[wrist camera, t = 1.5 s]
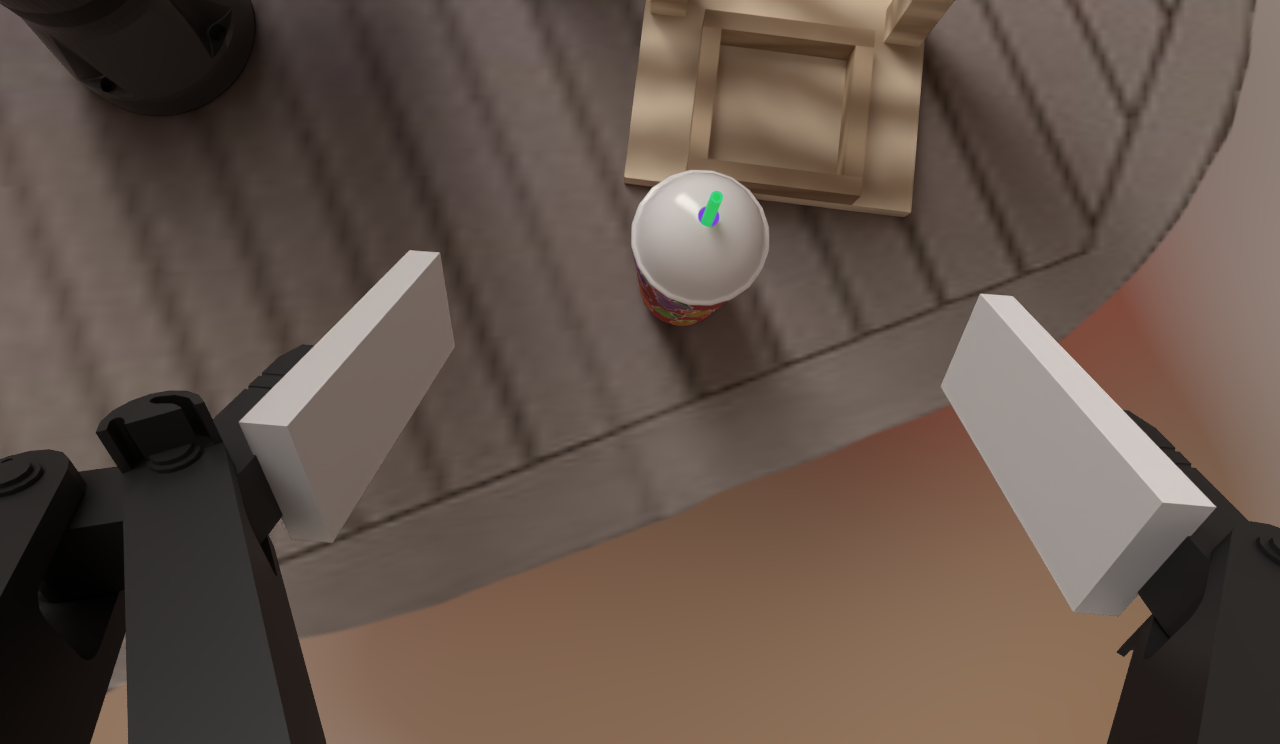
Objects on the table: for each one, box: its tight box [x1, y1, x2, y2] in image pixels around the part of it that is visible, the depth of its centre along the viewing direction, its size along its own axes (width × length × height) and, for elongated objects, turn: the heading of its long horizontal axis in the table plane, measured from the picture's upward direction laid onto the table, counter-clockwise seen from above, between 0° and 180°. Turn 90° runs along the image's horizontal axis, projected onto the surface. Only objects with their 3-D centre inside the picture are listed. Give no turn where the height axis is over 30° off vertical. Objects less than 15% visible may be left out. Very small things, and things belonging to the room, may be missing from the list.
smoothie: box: [631, 170, 769, 326], centre depth 39 cm, size 8×8×20 cm
